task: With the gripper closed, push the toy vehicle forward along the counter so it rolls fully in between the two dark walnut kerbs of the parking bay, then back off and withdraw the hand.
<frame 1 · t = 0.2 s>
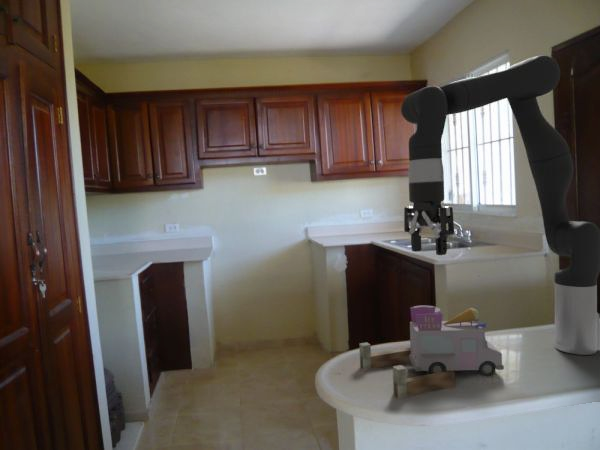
hand: (428, 252, 98), 29 cm above the counter, tool pointing down, fingers open, 8 cm apart
canned food: (426, 349, 118), on the counter
toy vehicle: (454, 372, 103), on the counter
bay: (404, 376, 101), on the counter
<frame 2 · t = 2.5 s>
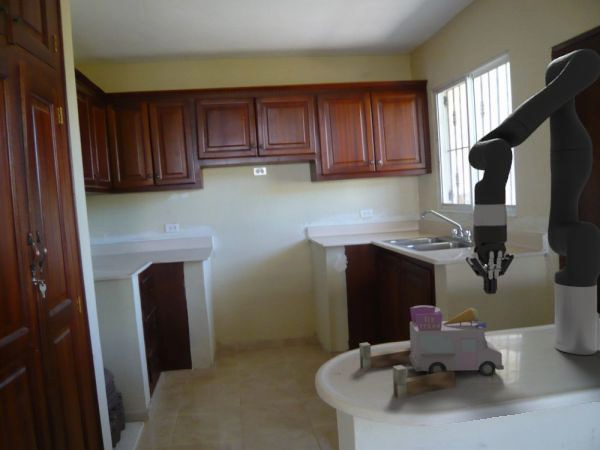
hand: (490, 293, 107), 17 cm above the counter, tool pointing down, fingers closed
nothing on the counter moved.
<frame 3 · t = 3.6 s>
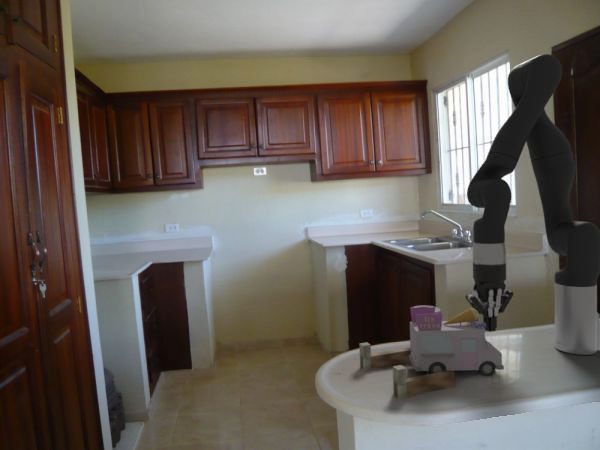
hand: (490, 330, 108), 8 cm above the counter, tool pointing down, fingers closed
nothing on the counter moved.
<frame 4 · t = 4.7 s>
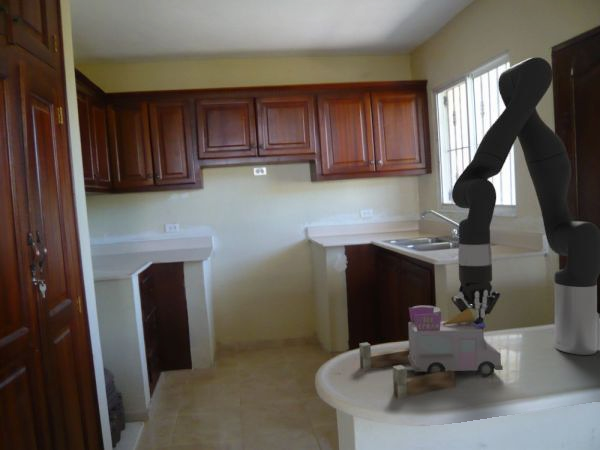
hand: (476, 332, 107), 8 cm above the counter, tool pointing down, fingers closed
toy vehicle: (453, 373, 102), on the counter, touching gripper
everything else where it was.
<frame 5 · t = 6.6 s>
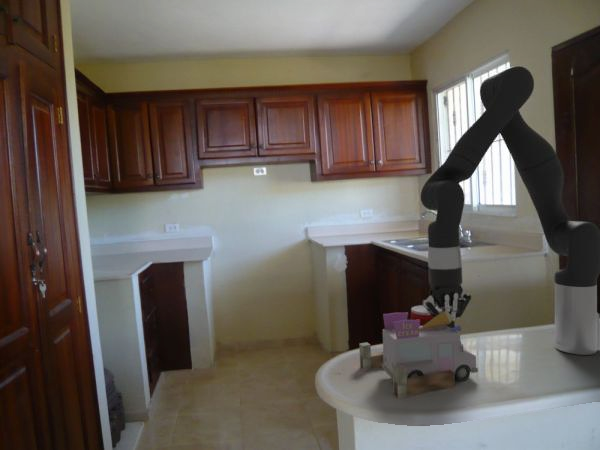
hand: (448, 335, 105), 8 cm above the counter, tool pointing down, fingers closed
toy vehicle: (429, 379, 100), on the counter, touching bay, gripper
everything else where it was.
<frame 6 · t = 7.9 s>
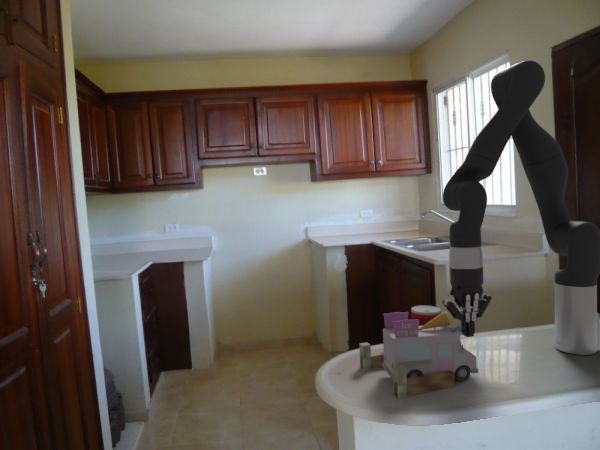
hand: (468, 335, 106), 7 cm above the counter, tool pointing down, fingers closed
toy vehicle: (429, 378, 100), on the counter
everything else where it was.
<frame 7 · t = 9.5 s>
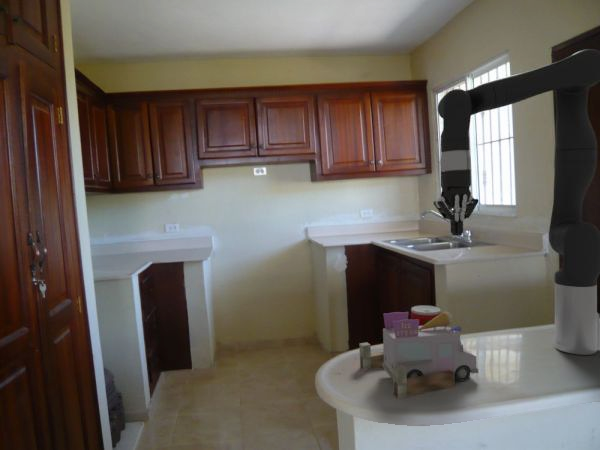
hand: (456, 235, 115), 31 cm above the counter, tool pointing down, fingers closed
nothing on the counter moved.
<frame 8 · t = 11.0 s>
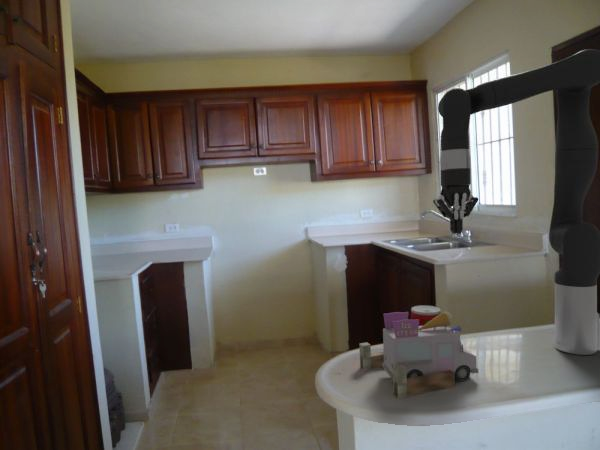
hand: (456, 233, 116), 31 cm above the counter, tool pointing down, fingers closed
nothing on the counter moved.
at the end: toy vehicle inside the target area (6.3 cm from its centre), on the counter; toy vehicle tilted 0°; toy vehicle moved 6.9 cm from its start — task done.
